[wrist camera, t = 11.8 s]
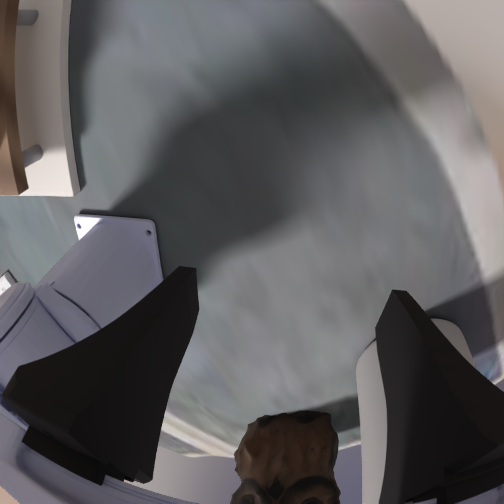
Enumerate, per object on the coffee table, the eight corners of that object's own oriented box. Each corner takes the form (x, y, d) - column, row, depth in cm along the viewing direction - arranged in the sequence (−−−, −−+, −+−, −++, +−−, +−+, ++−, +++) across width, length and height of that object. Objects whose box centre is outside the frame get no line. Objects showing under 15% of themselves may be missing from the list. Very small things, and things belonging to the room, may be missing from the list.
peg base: (80, 191, 21) (51, 213, 18) (3, 191, 22) (-22, 209, 19) (77, -36, 10) (44, -44, 7) (-8, 13, 11) (-38, 17, 8)
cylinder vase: (335, 349, 27) (328, 606, 7) (451, 293, 22) (517, 566, 1) (377, 396, 32) (381, 578, 11) (466, 356, 26) (503, 544, 6)
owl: (237, 424, 40) (215, 539, 24) (276, 395, 33) (257, 548, 17) (305, 441, 42) (296, 546, 25) (354, 415, 35) (354, 545, 19)
